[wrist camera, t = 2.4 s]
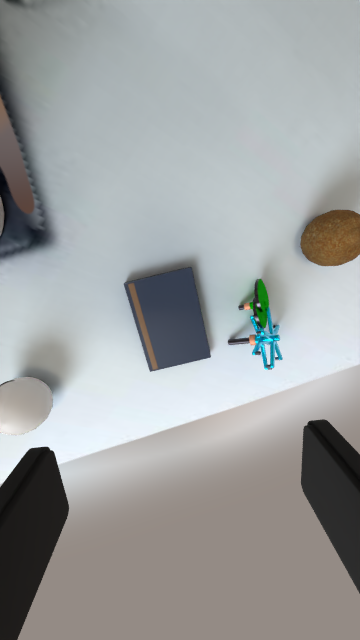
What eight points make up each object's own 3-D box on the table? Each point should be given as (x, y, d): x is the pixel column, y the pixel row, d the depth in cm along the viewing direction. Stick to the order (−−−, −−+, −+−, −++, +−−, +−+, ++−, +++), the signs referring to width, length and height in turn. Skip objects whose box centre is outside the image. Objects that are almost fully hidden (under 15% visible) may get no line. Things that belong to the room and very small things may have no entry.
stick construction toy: (290, 362, 33) (277, 377, 27) (243, 363, 38) (222, 377, 31) (276, 278, 34) (259, 274, 27) (230, 289, 38) (207, 287, 31)
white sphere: (40, 358, 34) (6, 385, 27) (72, 396, 36) (48, 431, 29) (-16, 390, 35) (-62, 425, 28) (18, 426, 37) (-17, 467, 30)
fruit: (279, 247, 32) (315, 245, 24) (310, 205, 30) (358, 188, 23) (313, 274, 33) (358, 279, 25) (344, 234, 31) (402, 227, 24)
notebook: (125, 282, 32) (123, 283, 30) (190, 266, 32) (191, 267, 30) (150, 368, 35) (150, 372, 34) (209, 354, 35) (211, 357, 34)
